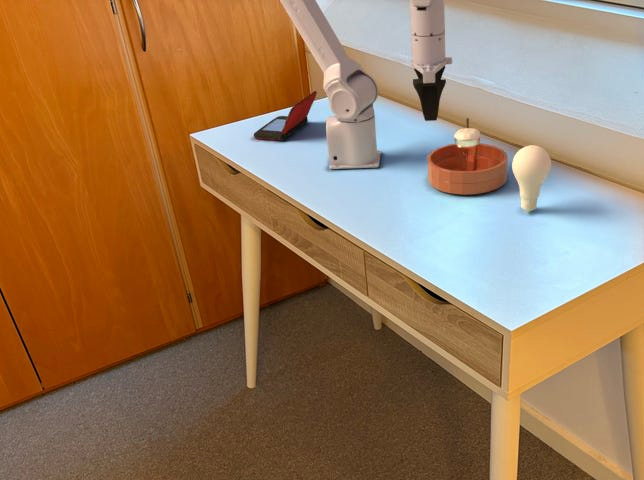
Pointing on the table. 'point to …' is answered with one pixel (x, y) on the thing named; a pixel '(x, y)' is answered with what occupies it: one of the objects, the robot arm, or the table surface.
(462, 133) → the milkshake
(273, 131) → the handheld game console
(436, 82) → the robot arm
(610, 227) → the table surface
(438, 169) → the bowl
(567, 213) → the table surface
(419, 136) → the table surface
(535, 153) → the lightbulb
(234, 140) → the table surface
